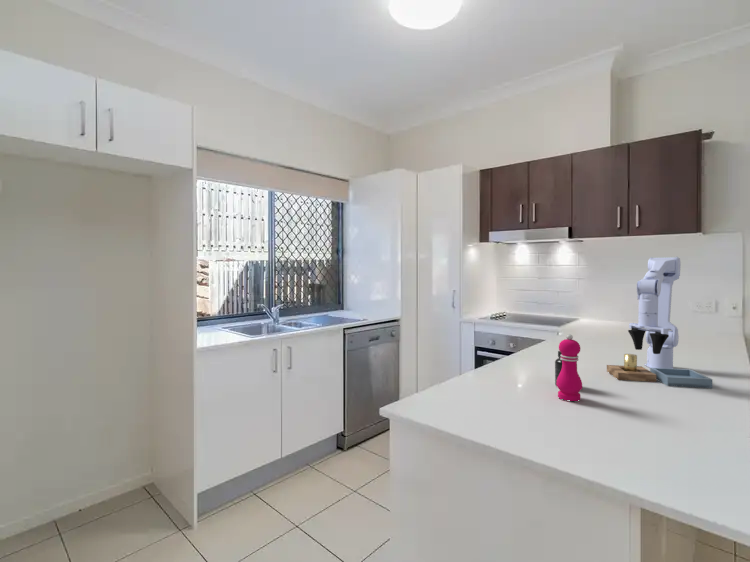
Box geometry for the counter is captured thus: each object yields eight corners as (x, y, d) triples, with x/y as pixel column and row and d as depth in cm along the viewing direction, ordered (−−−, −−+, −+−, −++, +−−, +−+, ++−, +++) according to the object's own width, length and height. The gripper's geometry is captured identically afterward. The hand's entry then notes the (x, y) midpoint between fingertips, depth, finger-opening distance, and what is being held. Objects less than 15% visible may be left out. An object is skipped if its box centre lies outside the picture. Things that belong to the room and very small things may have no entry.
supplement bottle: (572, 383, 137) (572, 349, 137) (580, 389, 131) (580, 353, 130) (551, 383, 138) (552, 349, 138) (559, 389, 131) (559, 353, 131)
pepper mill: (585, 403, 118) (586, 336, 117) (559, 401, 119) (559, 336, 119) (578, 395, 125) (578, 332, 124) (553, 394, 126) (554, 332, 126)
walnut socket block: (606, 371, 153) (606, 364, 153) (641, 372, 150) (641, 366, 150) (618, 379, 141) (618, 373, 141) (656, 381, 139) (656, 374, 139)
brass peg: (622, 374, 148) (622, 353, 148) (634, 375, 147) (634, 354, 147) (626, 377, 144) (626, 355, 144) (638, 378, 143) (638, 356, 143)
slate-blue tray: (650, 375, 147) (650, 367, 146) (690, 377, 144) (690, 369, 143) (667, 385, 134) (667, 377, 134) (712, 388, 131) (712, 379, 131)
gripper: (622, 311, 146) (621, 348, 146) (655, 315, 132) (655, 356, 132) (638, 311, 147) (638, 347, 147) (674, 315, 133) (673, 355, 133)
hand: (647, 351), depth 140 cm, fingers open, 7 cm apart
